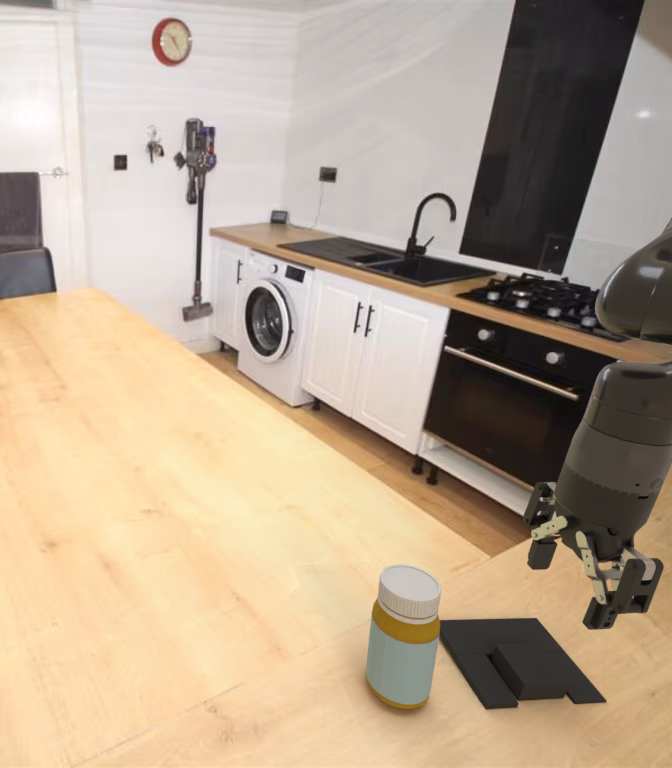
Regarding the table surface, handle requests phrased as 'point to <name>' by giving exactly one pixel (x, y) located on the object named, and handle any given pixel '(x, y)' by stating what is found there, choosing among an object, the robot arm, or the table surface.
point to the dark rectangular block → (529, 672)
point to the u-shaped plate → (480, 636)
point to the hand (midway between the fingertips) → (563, 595)
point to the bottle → (404, 636)
